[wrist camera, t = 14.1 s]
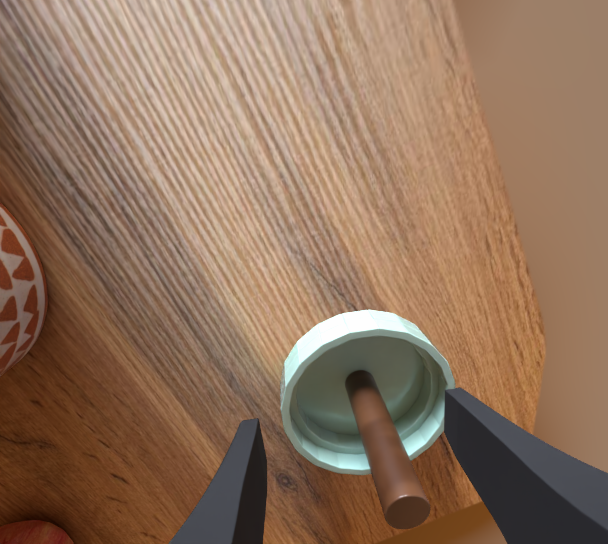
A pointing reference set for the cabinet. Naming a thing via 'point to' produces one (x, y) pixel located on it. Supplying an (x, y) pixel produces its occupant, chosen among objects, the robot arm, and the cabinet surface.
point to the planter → (19, 292)
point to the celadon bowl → (387, 374)
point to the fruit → (33, 533)
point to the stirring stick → (386, 455)
